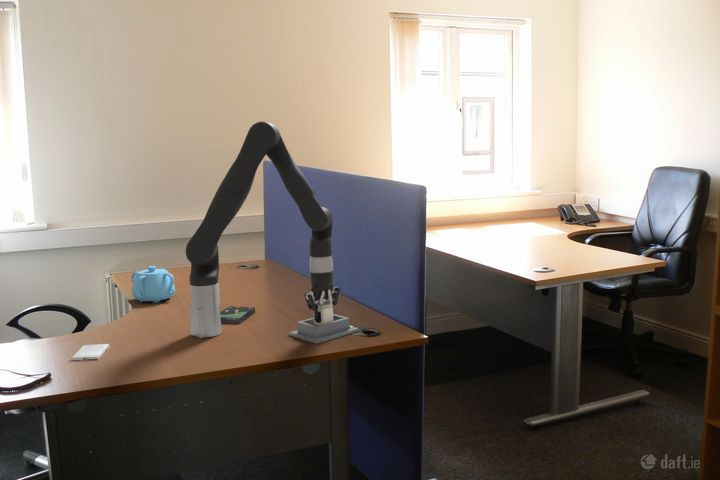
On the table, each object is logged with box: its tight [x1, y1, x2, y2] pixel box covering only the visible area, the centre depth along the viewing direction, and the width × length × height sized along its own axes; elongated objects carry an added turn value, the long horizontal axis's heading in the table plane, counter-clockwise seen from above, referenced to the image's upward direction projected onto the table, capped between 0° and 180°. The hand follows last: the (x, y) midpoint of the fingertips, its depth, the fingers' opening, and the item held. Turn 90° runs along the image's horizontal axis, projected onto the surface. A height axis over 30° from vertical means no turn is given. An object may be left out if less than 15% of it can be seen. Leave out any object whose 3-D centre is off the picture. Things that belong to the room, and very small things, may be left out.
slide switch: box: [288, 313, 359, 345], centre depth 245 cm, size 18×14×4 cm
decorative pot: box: [131, 265, 177, 304], centre depth 297 cm, size 16×16×14 cm
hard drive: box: [70, 343, 110, 361], centre depth 231 cm, size 2×8×12 cm
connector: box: [313, 301, 334, 325], centre depth 244 cm, size 4×5×7 cm
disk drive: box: [220, 305, 256, 325], centre depth 268 cm, size 10×3×15 cm
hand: (323, 320), depth 245 cm, fingers closed on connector, 4 cm apart
